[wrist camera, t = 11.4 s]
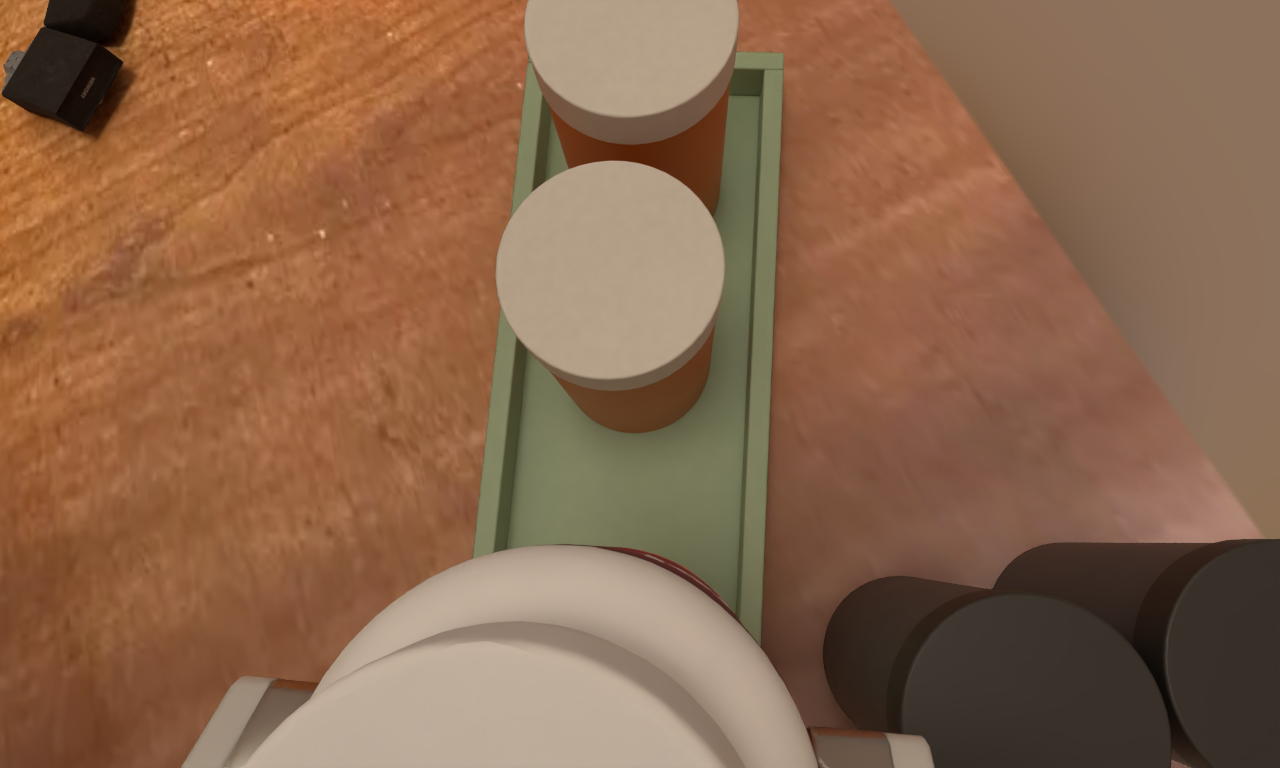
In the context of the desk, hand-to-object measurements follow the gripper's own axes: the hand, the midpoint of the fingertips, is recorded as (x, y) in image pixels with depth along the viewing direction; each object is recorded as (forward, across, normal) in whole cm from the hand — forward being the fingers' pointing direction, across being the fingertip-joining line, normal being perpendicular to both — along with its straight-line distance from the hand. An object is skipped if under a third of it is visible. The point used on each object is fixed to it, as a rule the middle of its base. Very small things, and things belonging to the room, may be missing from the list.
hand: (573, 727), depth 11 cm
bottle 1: (+26, +1, +2) cm, 26 cm away
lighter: (+29, +25, -3) cm, 38 cm away
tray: (+21, +1, +7) cm, 22 cm away
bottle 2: (+20, +1, +7) cm, 22 cm away
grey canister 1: (+13, -10, +15) cm, 22 cm away
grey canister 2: (+14, -16, +14) cm, 25 cm away
